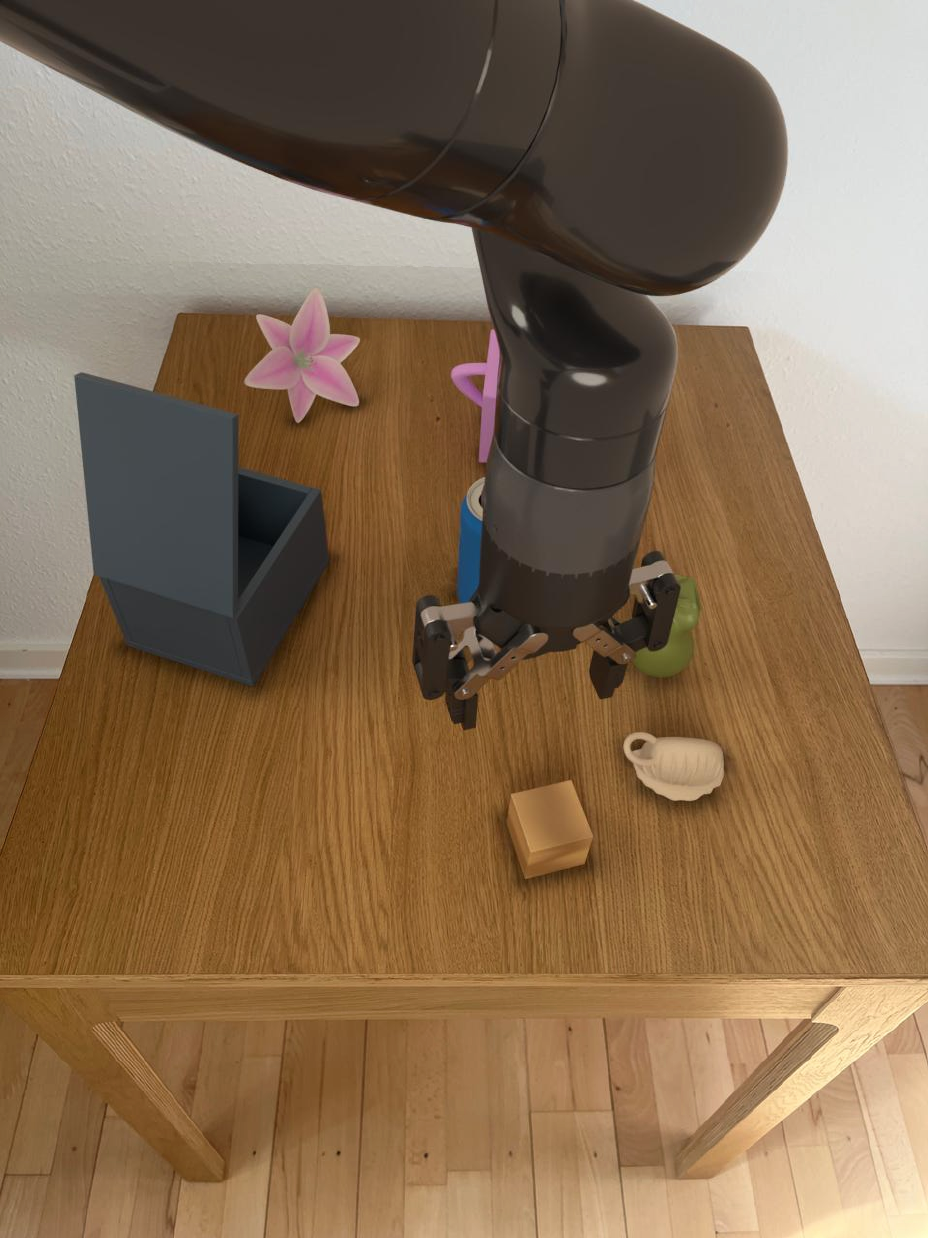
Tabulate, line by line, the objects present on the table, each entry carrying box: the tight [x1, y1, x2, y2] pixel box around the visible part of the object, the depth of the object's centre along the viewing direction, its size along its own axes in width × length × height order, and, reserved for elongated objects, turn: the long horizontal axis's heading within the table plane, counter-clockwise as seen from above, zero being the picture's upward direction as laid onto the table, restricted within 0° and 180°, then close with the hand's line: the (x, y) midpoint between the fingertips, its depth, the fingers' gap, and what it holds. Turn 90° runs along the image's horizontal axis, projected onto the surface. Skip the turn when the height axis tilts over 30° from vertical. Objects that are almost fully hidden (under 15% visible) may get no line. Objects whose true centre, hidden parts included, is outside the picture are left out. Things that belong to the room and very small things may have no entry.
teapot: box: [450, 328, 500, 464], centre depth 91 cm, size 15×13×11 cm
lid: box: [73, 371, 240, 617], centre depth 65 cm, size 15×12×1 cm
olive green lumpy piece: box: [631, 573, 702, 679], centre depth 74 cm, size 6×5×10 cm
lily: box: [243, 287, 361, 424], centre depth 96 cm, size 12×12×10 cm
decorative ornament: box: [622, 731, 725, 802], centre depth 70 cm, size 4×8×5 cm, turn 84°
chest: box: [98, 466, 330, 688], centre depth 77 cm, size 15×12×9 cm
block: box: [506, 779, 594, 880], centre depth 66 cm, size 4×4×4 cm
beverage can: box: [456, 476, 485, 604], centre depth 77 cm, size 6×6×12 cm
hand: (533, 701), depth 56 cm, fingers open, 8 cm apart
